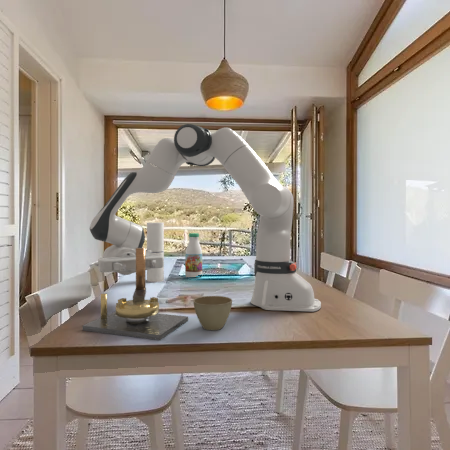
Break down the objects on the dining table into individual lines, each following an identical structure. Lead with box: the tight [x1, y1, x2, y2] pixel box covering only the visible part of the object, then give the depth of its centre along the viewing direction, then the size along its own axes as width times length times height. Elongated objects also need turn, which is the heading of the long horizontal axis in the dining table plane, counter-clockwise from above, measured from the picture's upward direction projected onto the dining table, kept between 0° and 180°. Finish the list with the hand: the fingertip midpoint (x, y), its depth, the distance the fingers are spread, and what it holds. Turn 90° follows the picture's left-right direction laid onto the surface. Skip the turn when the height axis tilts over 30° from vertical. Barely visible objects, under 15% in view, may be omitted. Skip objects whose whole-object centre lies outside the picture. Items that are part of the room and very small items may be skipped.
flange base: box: [82, 292, 189, 341], centre depth 96 cm, size 22×16×8 cm
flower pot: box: [192, 295, 233, 331], centre depth 94 cm, size 10×10×7 cm
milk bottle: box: [184, 232, 203, 278], centre depth 167 cm, size 8×8×20 cm
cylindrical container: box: [146, 221, 165, 283], centre depth 157 cm, size 7×7×25 cm
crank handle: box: [115, 247, 160, 318], centre depth 100 cm, size 20×11×15 cm, turn 10°
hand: (139, 266), depth 109 cm, fingers open, 8 cm apart
